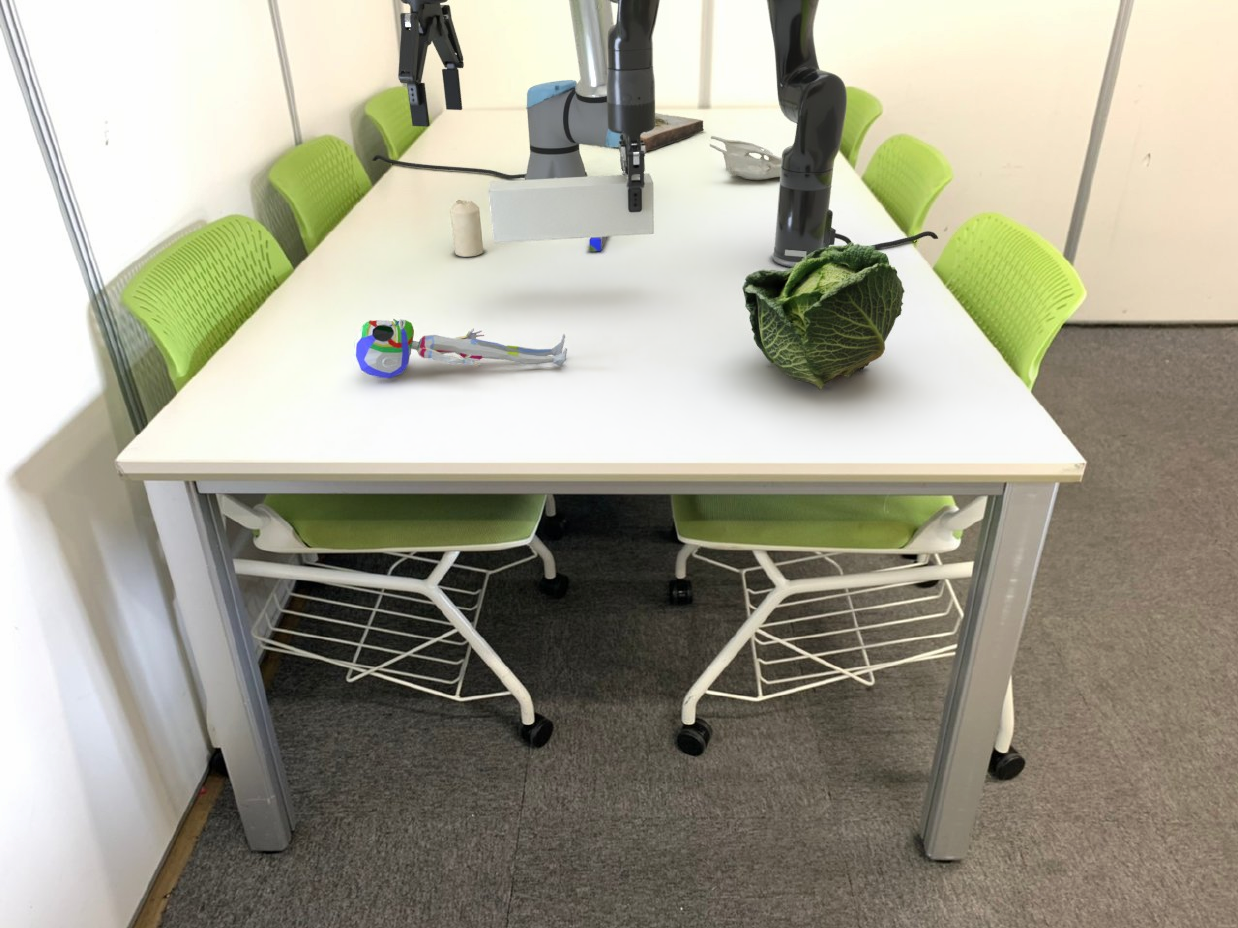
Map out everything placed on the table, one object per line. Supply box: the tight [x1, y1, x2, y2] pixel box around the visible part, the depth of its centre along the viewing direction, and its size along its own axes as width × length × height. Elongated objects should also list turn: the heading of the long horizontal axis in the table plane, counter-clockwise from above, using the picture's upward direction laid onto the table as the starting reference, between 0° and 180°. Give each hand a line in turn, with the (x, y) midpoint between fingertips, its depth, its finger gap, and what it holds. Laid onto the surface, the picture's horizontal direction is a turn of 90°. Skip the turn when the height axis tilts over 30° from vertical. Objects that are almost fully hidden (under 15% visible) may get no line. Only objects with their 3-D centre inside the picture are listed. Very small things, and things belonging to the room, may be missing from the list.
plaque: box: [641, 112, 705, 153], centre depth 257 cm, size 30×7×30 cm
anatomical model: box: [709, 135, 782, 181], centre depth 217 cm, size 15×9×25 cm
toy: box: [353, 318, 568, 379], centre depth 130 cm, size 10×8×30 cm
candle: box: [449, 199, 484, 258], centre depth 172 cm, size 6×6×10 cm
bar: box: [488, 172, 655, 244], centre depth 148 cm, size 26×5×8 cm, turn 95°
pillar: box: [588, 236, 608, 252], centre depth 182 cm, size 2×2×20 cm
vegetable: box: [742, 241, 906, 390], centre depth 125 cm, size 20×19×20 cm
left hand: (438, 117), depth 151 cm, fingers open, 13 cm apart
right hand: (633, 205), depth 149 cm, fingers closed on bar, 5 cm apart
